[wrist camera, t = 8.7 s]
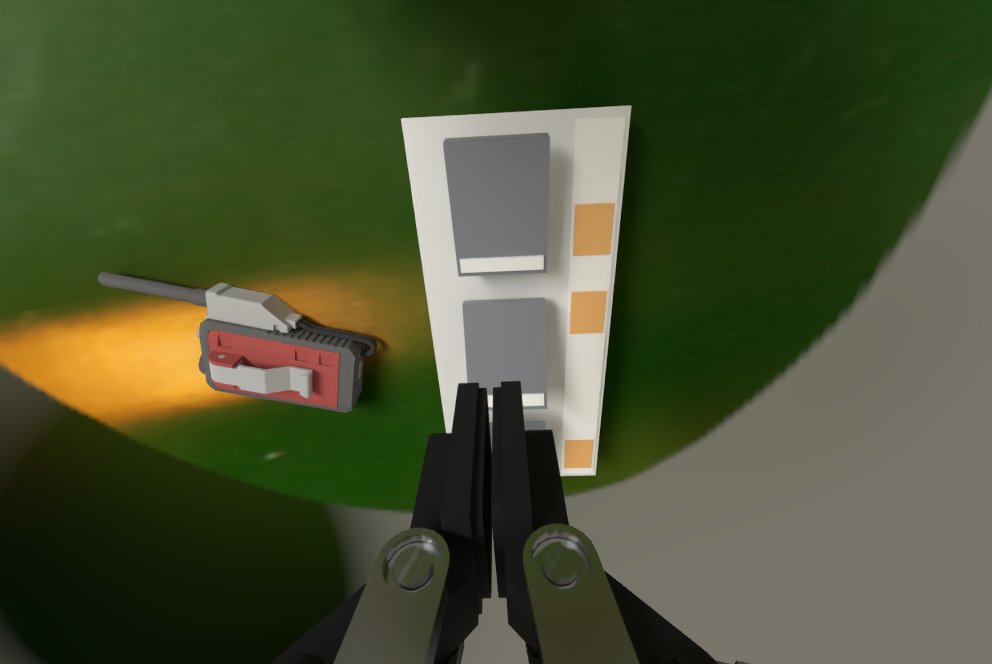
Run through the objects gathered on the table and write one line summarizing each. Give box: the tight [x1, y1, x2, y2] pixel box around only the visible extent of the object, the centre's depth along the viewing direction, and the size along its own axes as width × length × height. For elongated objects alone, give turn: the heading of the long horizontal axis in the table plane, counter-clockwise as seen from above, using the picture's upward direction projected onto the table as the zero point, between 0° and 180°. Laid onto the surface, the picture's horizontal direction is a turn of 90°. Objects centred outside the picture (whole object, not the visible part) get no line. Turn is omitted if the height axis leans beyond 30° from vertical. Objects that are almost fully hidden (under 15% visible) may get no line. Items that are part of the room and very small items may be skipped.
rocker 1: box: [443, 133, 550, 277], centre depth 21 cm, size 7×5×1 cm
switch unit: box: [401, 106, 631, 476], centre depth 28 cm, size 27×12×5 cm, turn 3°
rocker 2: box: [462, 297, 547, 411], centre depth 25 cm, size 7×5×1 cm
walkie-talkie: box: [98, 272, 377, 413], centre depth 31 cm, size 9×4×20 cm
